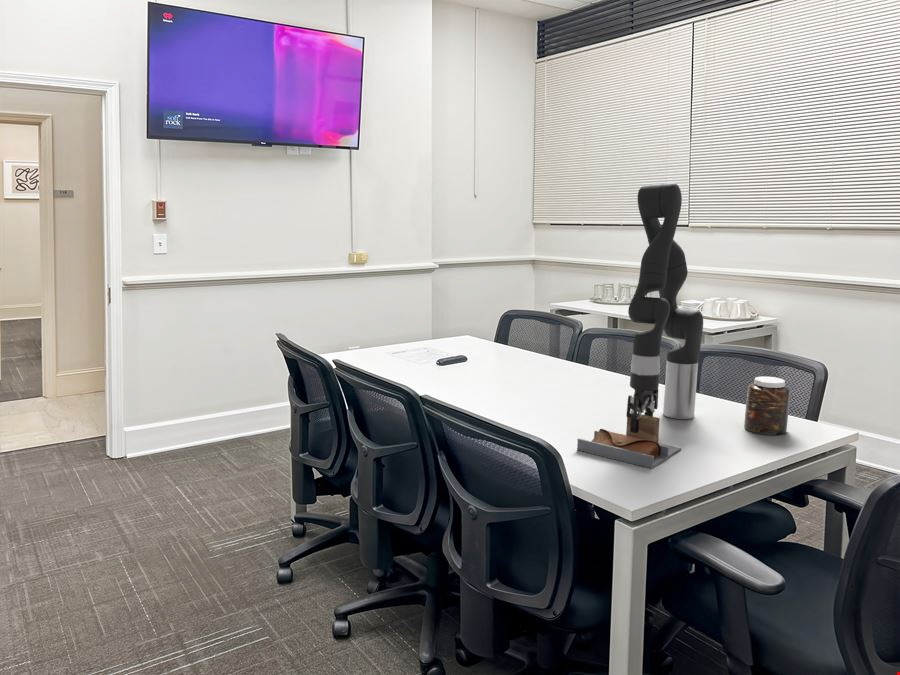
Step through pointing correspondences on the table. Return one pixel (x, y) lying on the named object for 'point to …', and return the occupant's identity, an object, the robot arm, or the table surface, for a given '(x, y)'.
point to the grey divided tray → (646, 432)
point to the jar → (767, 406)
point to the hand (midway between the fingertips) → (641, 429)
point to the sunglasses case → (628, 443)
